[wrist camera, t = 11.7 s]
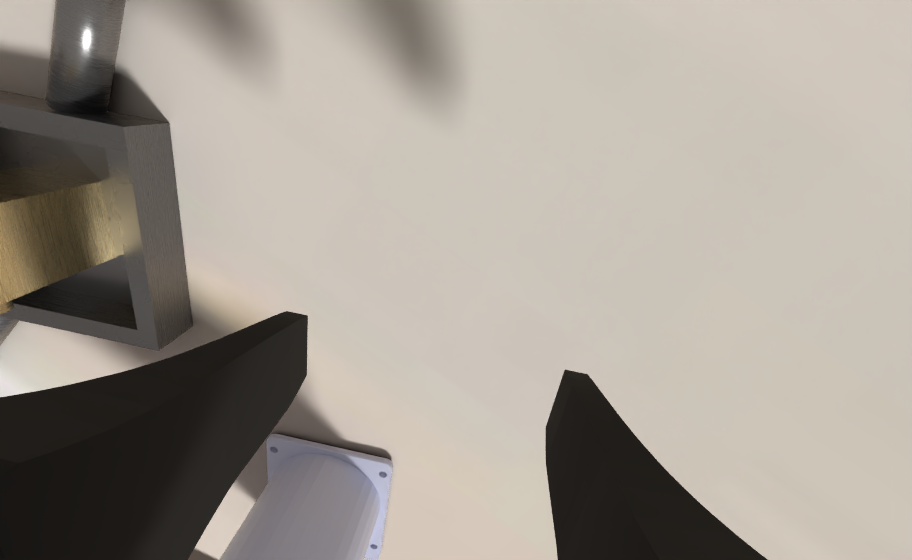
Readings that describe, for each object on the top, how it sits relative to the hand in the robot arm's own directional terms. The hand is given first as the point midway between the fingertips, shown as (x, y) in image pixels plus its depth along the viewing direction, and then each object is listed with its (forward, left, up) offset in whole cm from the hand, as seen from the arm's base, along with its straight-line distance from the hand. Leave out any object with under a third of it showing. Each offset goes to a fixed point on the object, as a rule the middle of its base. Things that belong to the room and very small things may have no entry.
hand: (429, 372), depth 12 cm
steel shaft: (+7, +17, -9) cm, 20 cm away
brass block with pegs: (-2, +20, -9) cm, 22 cm away
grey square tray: (-2, +20, -9) cm, 22 cm away
